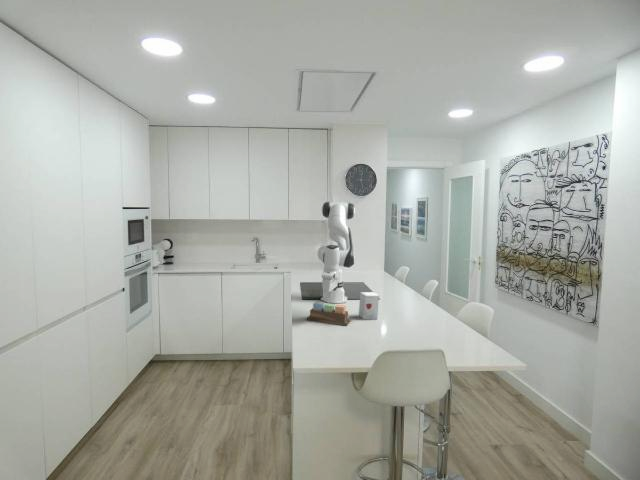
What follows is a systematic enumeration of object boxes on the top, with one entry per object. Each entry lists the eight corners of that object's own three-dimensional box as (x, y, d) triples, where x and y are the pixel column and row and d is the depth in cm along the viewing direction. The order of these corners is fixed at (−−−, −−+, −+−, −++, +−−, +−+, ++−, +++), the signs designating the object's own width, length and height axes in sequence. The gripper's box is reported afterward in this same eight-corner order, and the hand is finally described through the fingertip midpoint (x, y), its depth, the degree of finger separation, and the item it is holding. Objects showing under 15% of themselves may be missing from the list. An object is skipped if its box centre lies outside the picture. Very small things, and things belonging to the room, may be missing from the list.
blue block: (315, 310, 235) (315, 301, 235) (323, 311, 234) (323, 302, 233) (312, 312, 230) (313, 303, 230) (321, 313, 229) (321, 304, 228)
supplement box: (363, 320, 236) (365, 295, 234) (358, 315, 244) (359, 291, 243) (377, 319, 238) (379, 295, 237) (372, 315, 247) (373, 291, 246)
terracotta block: (336, 312, 231) (337, 304, 231) (345, 314, 230) (345, 305, 229) (334, 315, 226) (335, 306, 226) (343, 316, 225) (343, 307, 225)
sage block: (326, 311, 233) (326, 303, 233) (334, 312, 232) (334, 304, 231) (323, 313, 228) (324, 305, 228) (332, 314, 227) (332, 306, 226)
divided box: (311, 316, 239) (312, 306, 238) (350, 321, 232) (351, 311, 231) (306, 320, 229) (306, 310, 229) (346, 326, 222) (347, 315, 222)
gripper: (330, 270, 239) (329, 293, 240) (320, 275, 219) (319, 299, 220) (340, 271, 237) (339, 294, 238) (331, 276, 217) (330, 301, 218)
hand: (329, 297), depth 229 cm, fingers closed
